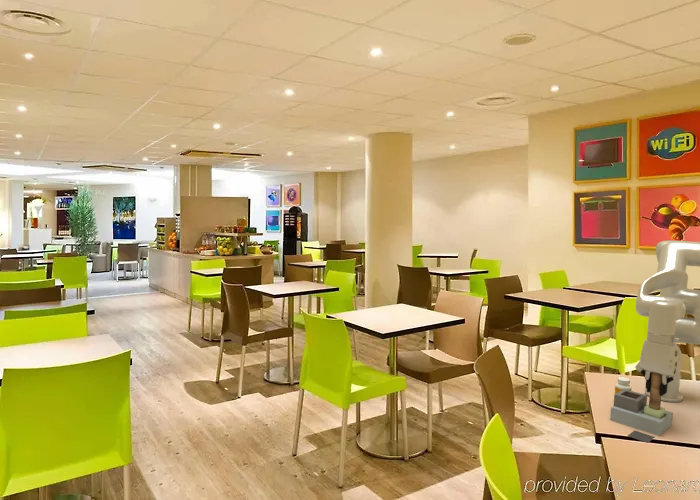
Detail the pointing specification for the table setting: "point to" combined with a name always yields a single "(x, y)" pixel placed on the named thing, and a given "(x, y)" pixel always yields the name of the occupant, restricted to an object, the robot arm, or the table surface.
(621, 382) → the supplement bottle
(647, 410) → the on button
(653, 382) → the brown wooden cylinder
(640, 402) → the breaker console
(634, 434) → the pad
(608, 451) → the table surface
